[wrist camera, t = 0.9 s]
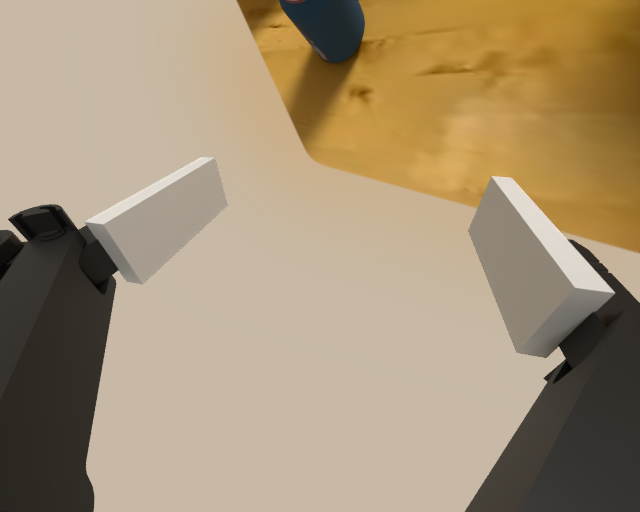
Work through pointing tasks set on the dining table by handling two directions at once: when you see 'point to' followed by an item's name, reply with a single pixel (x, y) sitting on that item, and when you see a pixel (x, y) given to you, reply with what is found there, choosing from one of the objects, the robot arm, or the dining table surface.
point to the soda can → (328, 25)
